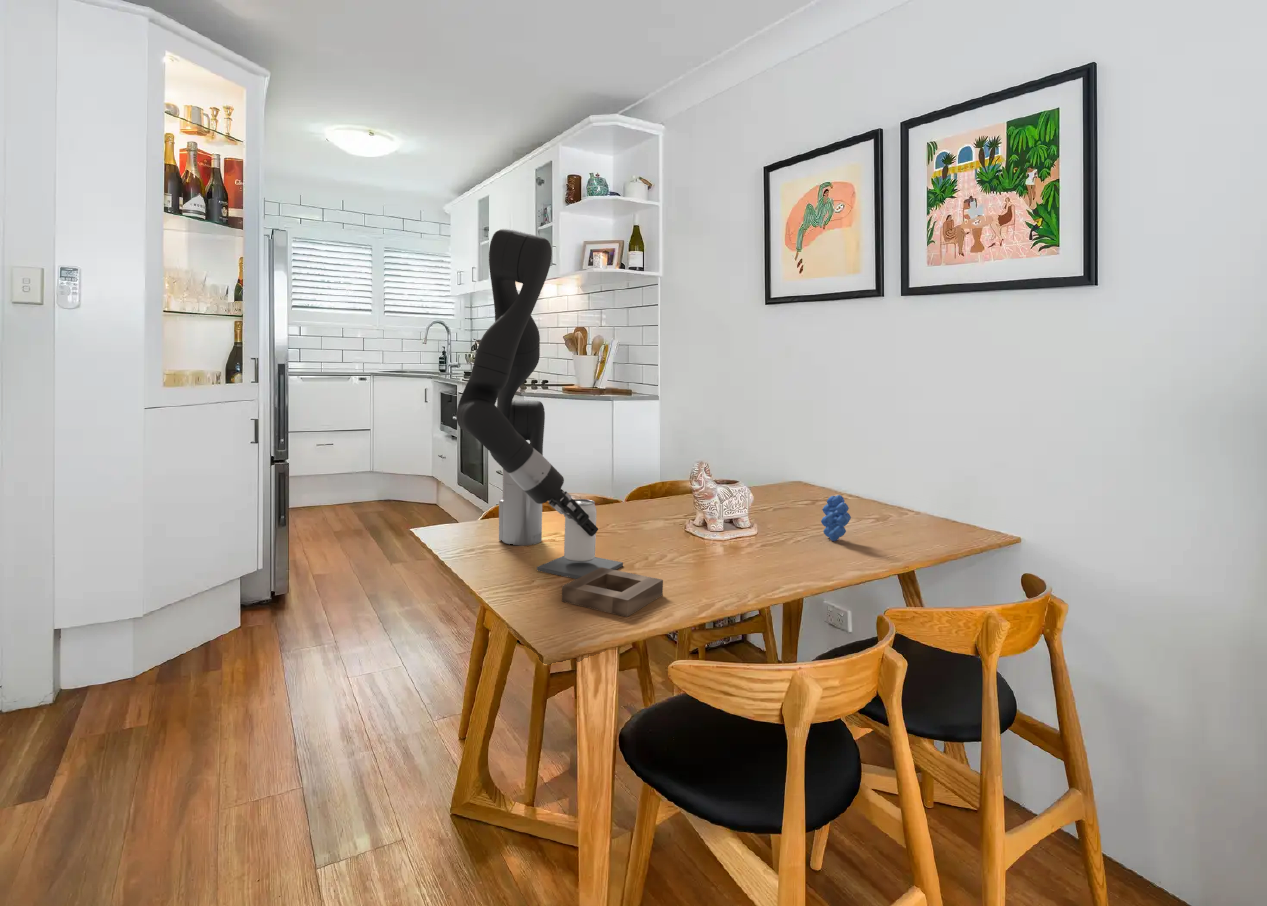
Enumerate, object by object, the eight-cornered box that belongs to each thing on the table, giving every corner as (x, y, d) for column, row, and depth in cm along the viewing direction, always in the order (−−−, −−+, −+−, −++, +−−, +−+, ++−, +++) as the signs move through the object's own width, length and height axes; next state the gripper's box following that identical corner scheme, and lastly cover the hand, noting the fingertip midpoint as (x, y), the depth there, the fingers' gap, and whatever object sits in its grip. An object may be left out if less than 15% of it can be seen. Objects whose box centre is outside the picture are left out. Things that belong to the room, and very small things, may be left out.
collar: (561, 601, 131) (562, 585, 131) (601, 581, 143) (601, 567, 143) (627, 616, 125) (627, 600, 125) (662, 594, 137) (663, 579, 136)
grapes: (860, 547, 176) (864, 498, 175) (834, 547, 175) (838, 498, 173) (839, 534, 188) (842, 489, 186) (814, 535, 186) (817, 489, 185)
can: (577, 551, 156) (578, 497, 154) (601, 557, 152) (603, 501, 151) (557, 558, 151) (559, 501, 149) (581, 564, 147) (583, 506, 146)
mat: (536, 570, 149) (536, 566, 149) (571, 555, 160) (572, 552, 160) (590, 582, 143) (590, 578, 143) (622, 566, 154) (623, 562, 154)
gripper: (560, 467, 139) (615, 524, 146) (536, 456, 151) (587, 508, 158) (533, 496, 137) (590, 551, 144) (511, 482, 150) (564, 534, 157)
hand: (588, 529), depth 151 cm, fingers closed on can, 5 cm apart
